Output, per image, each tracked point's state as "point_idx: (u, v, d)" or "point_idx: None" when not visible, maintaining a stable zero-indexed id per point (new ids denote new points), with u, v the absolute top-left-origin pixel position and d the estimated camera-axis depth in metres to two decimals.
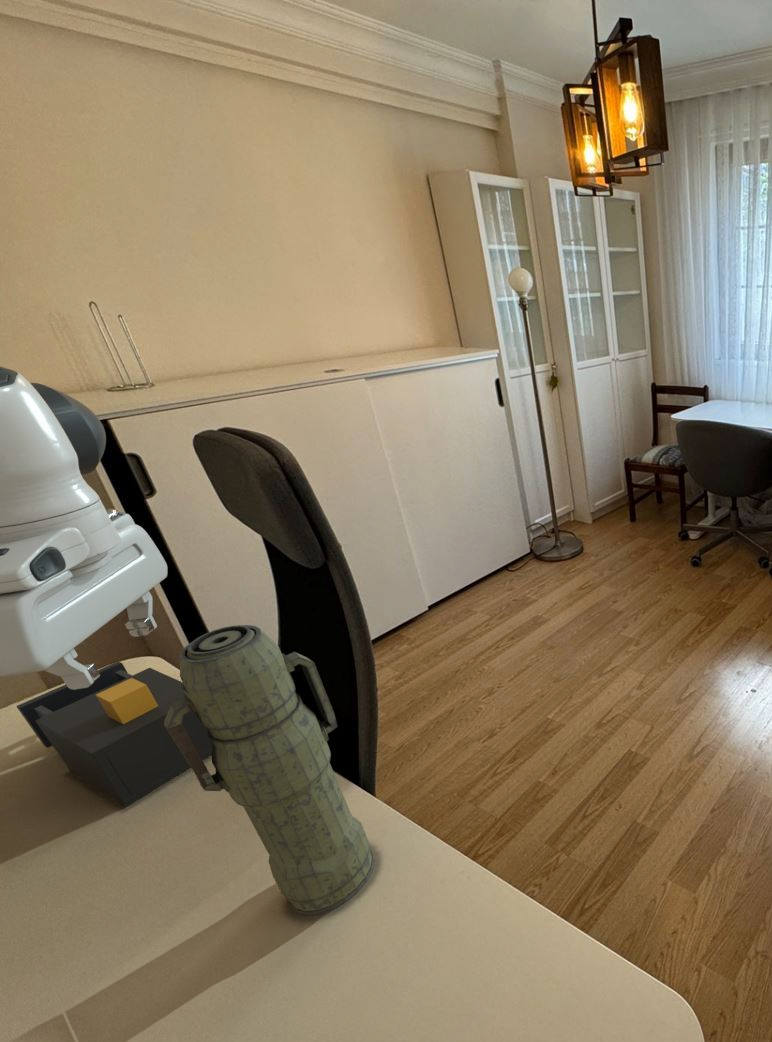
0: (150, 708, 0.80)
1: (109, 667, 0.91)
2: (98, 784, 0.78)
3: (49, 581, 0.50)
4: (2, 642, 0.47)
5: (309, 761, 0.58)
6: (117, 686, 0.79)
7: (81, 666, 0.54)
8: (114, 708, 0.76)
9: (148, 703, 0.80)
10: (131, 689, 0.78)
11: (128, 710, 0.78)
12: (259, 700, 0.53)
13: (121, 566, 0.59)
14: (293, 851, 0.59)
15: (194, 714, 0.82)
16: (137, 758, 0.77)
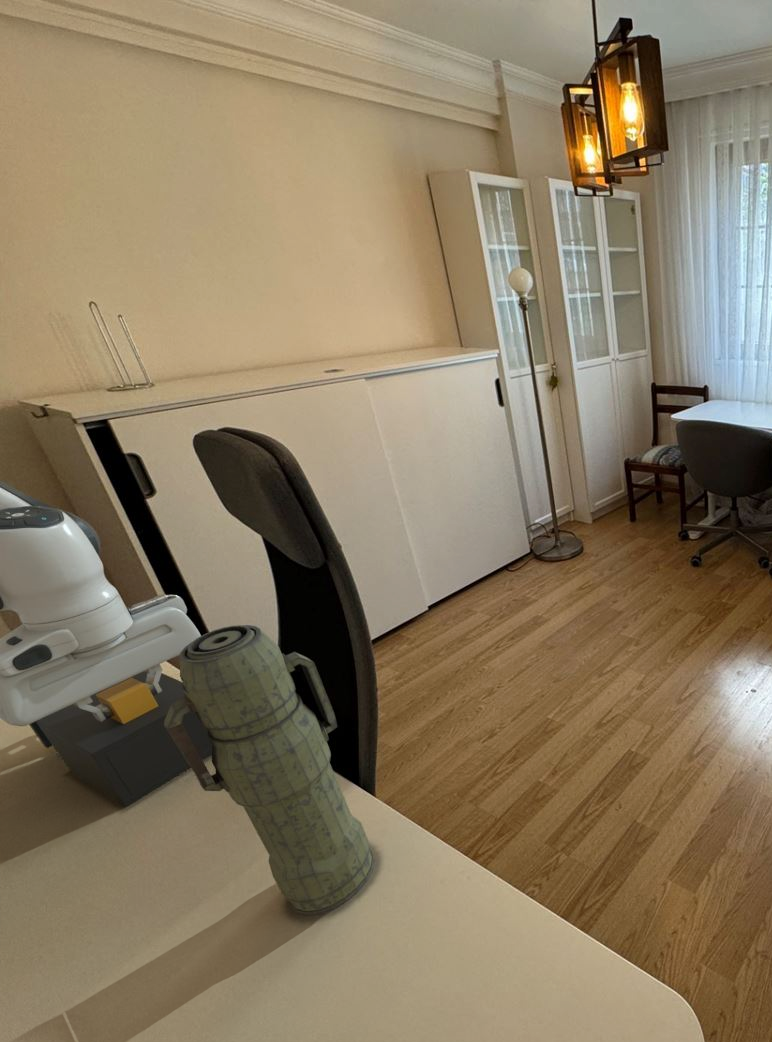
0: (150, 708, 0.80)
1: None
2: (98, 784, 0.78)
3: (37, 667, 0.69)
4: None
5: (309, 761, 0.58)
6: (117, 686, 0.79)
7: (94, 708, 0.75)
8: (114, 708, 0.76)
9: (149, 703, 0.80)
10: (131, 689, 0.78)
11: (128, 710, 0.78)
12: (259, 700, 0.53)
13: (143, 642, 0.78)
14: (293, 851, 0.59)
15: (194, 714, 0.82)
16: (137, 758, 0.77)
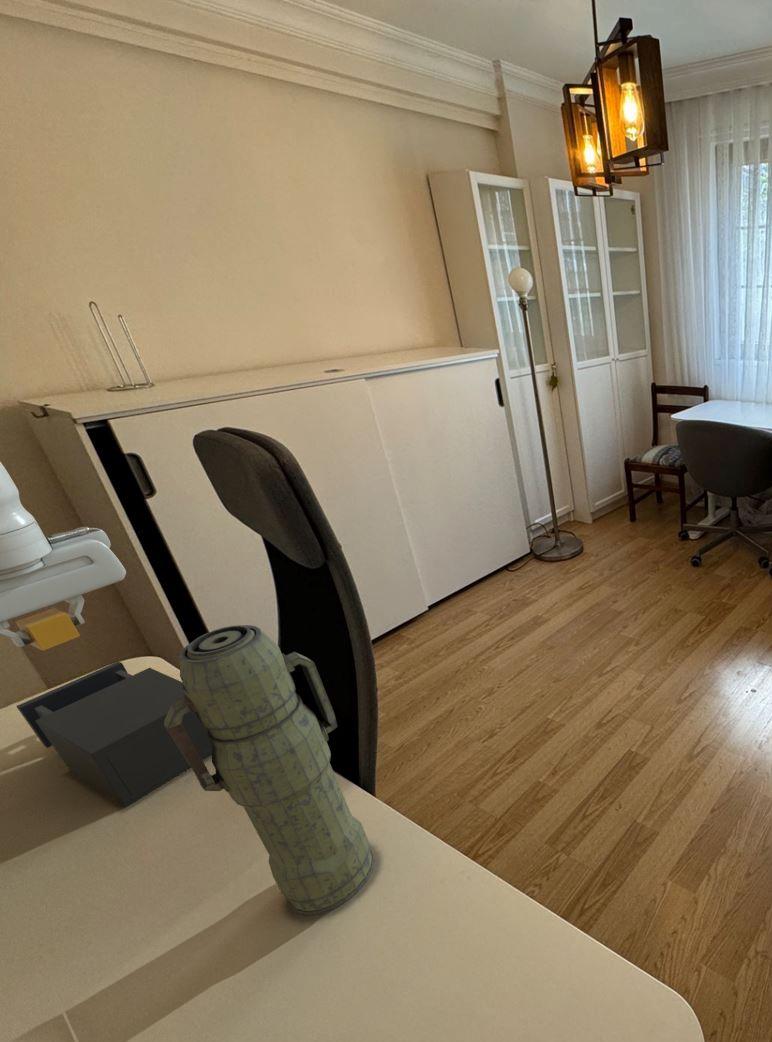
0: (71, 637, 0.82)
1: (109, 667, 0.91)
2: (98, 784, 0.78)
3: None
4: None
5: (309, 761, 0.58)
6: (38, 614, 0.81)
7: (12, 633, 0.77)
8: (33, 634, 0.78)
9: (70, 632, 0.81)
10: (51, 617, 0.80)
11: (48, 637, 0.80)
12: (259, 700, 0.53)
13: (63, 572, 0.80)
14: (293, 851, 0.59)
15: (194, 714, 0.82)
16: (137, 758, 0.77)
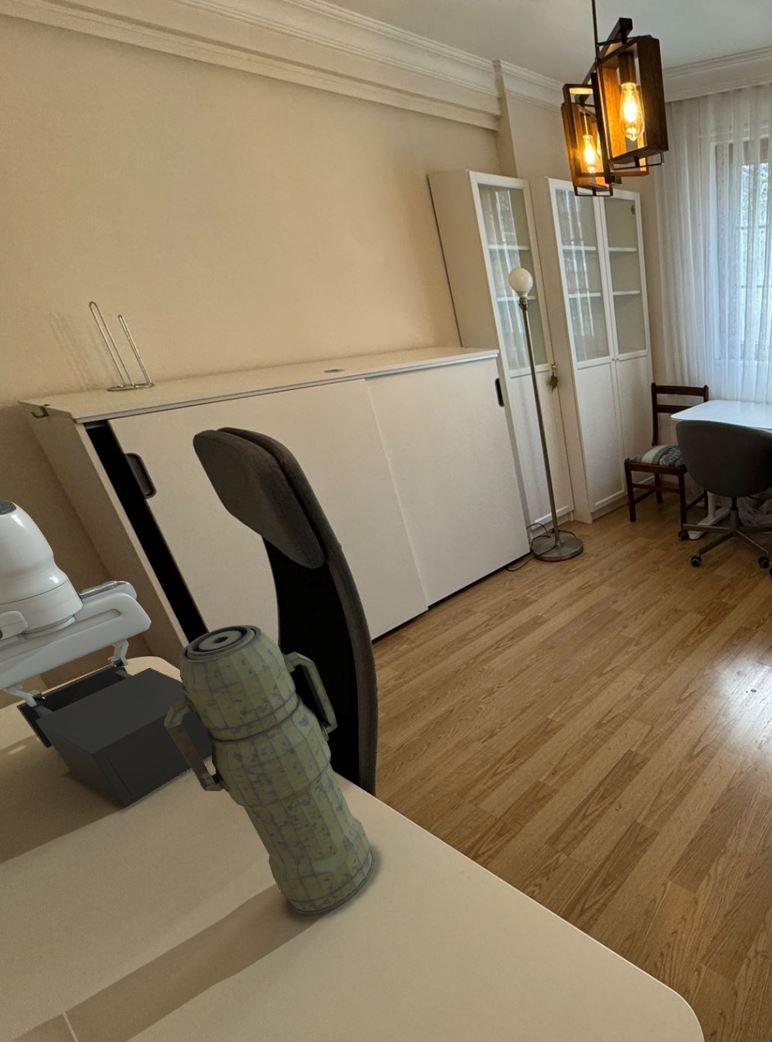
0: None
1: (109, 667, 0.91)
2: (98, 784, 0.78)
3: None
4: None
5: (309, 761, 0.58)
6: None
7: (25, 694, 0.79)
8: None
9: None
10: None
11: None
12: (259, 700, 0.53)
13: (92, 625, 0.84)
14: (293, 851, 0.59)
15: (194, 714, 0.82)
16: (137, 758, 0.77)
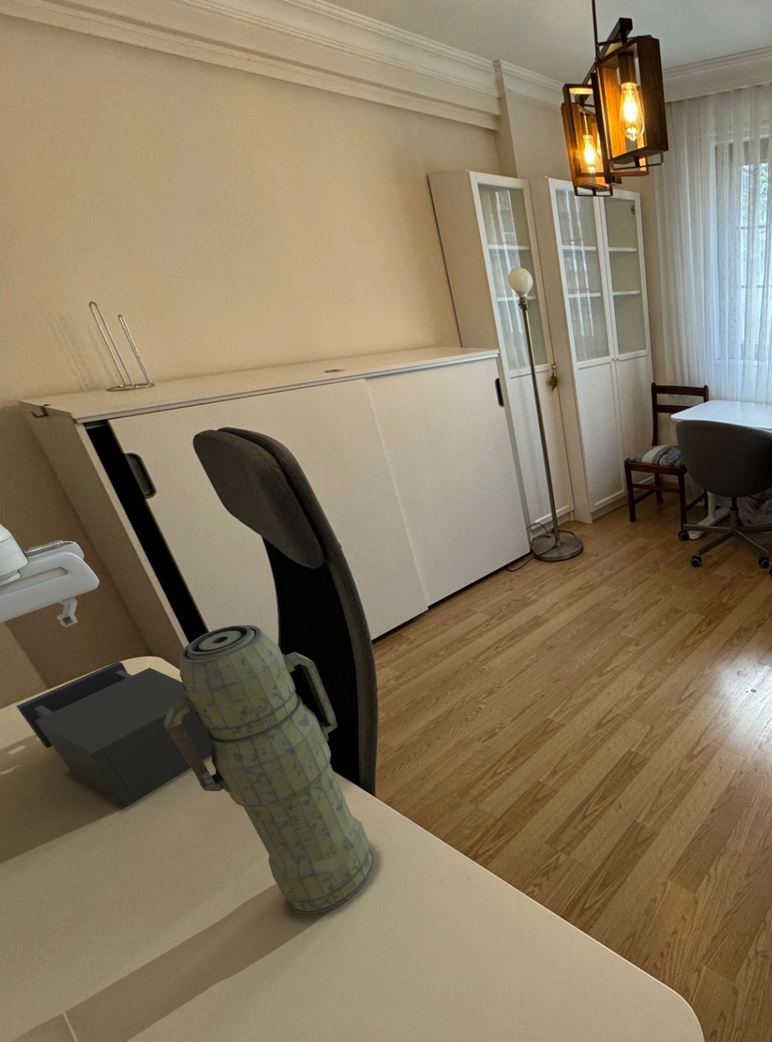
0: None
1: (109, 667, 0.91)
2: (98, 784, 0.78)
3: None
4: None
5: (309, 761, 0.58)
6: None
7: None
8: None
9: None
10: None
11: None
12: (259, 700, 0.53)
13: (39, 582, 0.87)
14: (293, 851, 0.59)
15: (194, 714, 0.82)
16: (137, 758, 0.77)
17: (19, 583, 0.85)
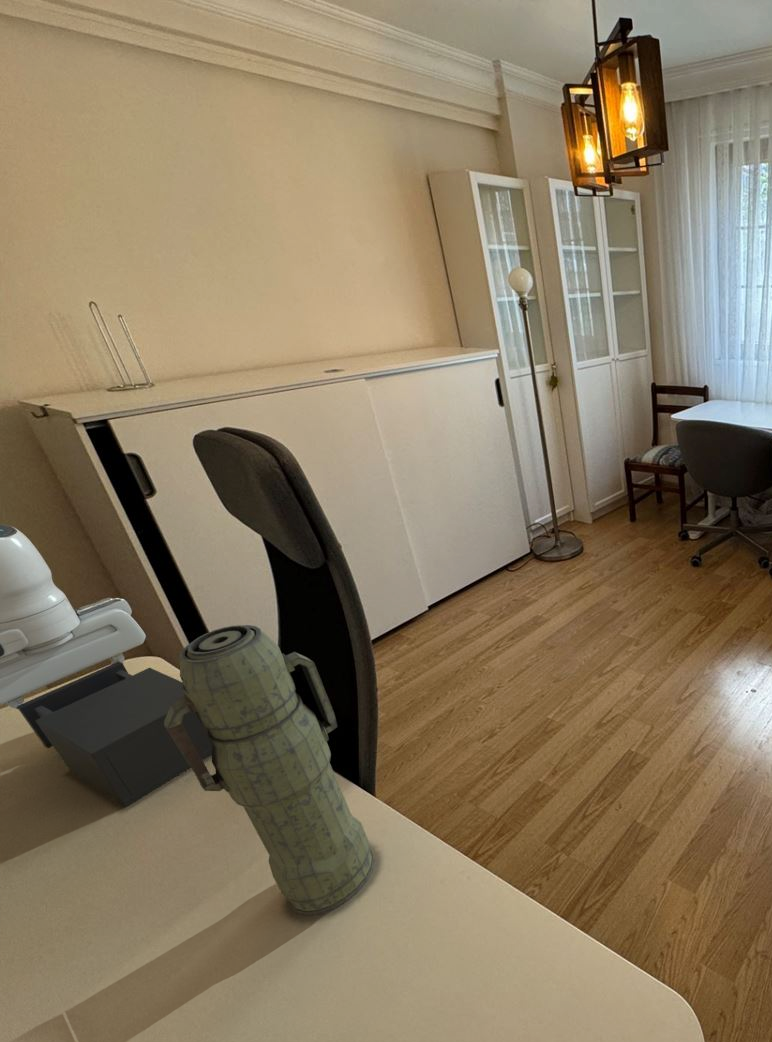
0: None
1: (109, 667, 0.91)
2: (98, 784, 0.78)
3: None
4: None
5: (309, 761, 0.58)
6: None
7: None
8: None
9: None
10: None
11: None
12: (259, 700, 0.53)
13: (90, 640, 0.89)
14: (293, 851, 0.59)
15: (194, 714, 0.82)
16: (137, 758, 0.77)
17: (71, 643, 0.87)
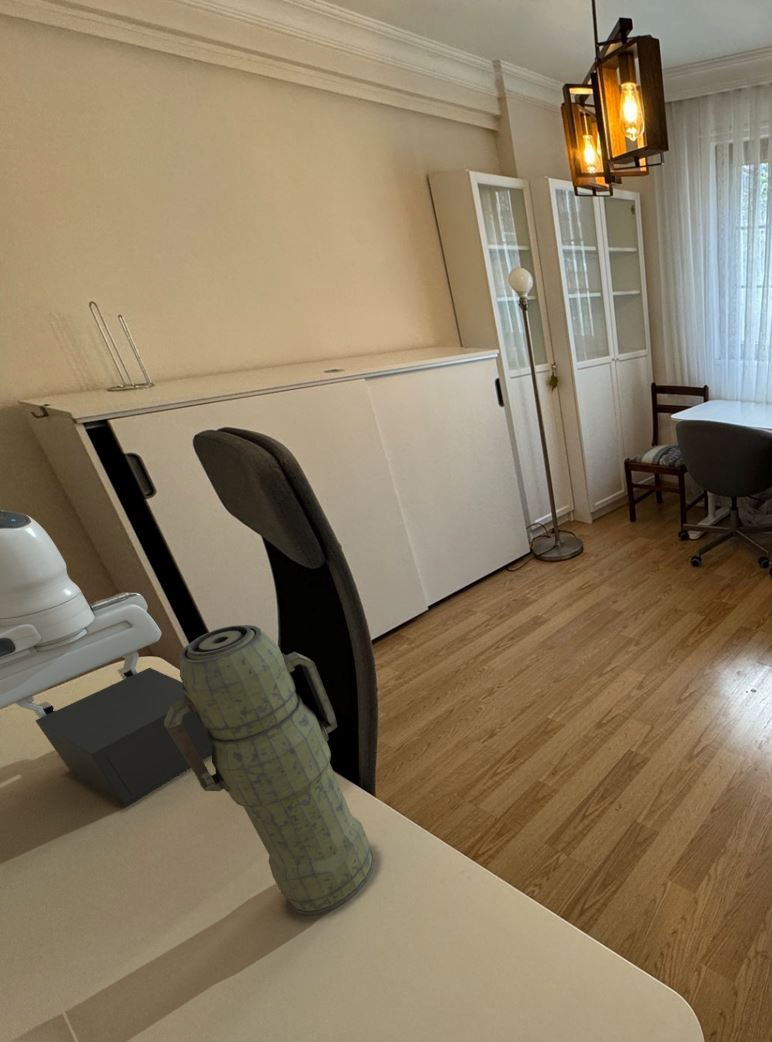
0: None
1: None
2: (98, 784, 0.78)
3: (1, 658, 0.74)
4: None
5: (309, 761, 0.58)
6: None
7: (36, 707, 0.79)
8: None
9: None
10: None
11: None
12: (259, 700, 0.53)
13: (104, 637, 0.84)
14: (293, 851, 0.59)
15: (194, 714, 0.82)
16: (137, 758, 0.77)
17: (85, 639, 0.82)
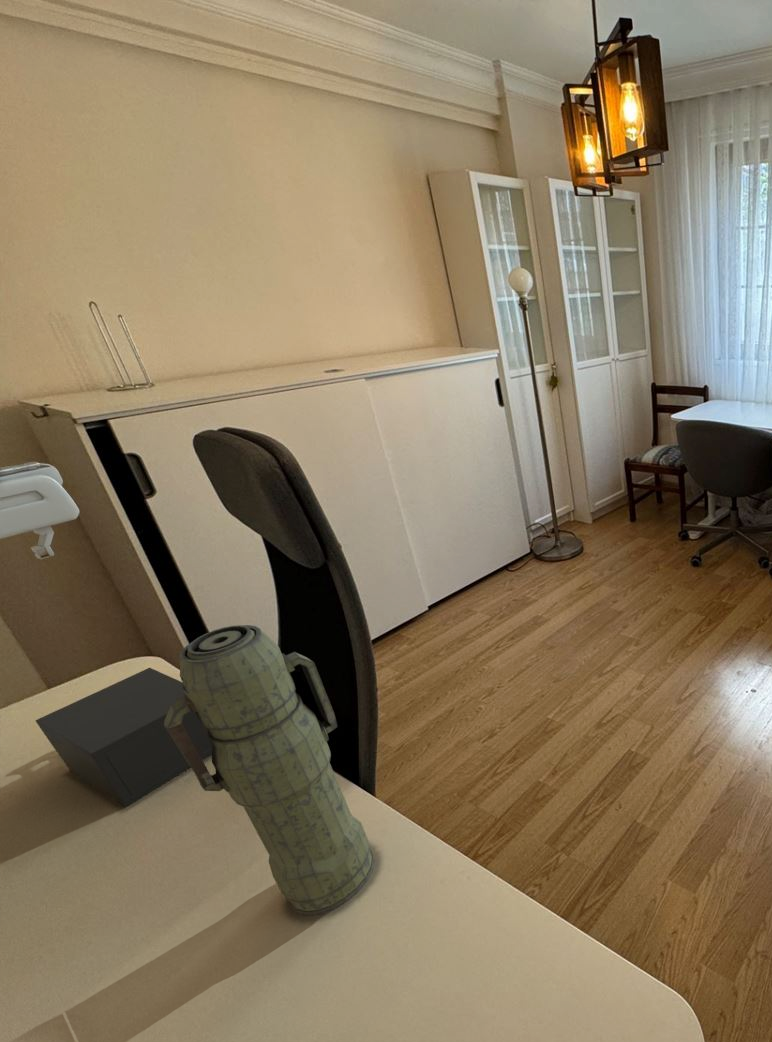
0: None
1: None
2: (98, 784, 0.78)
3: None
4: None
5: (309, 761, 0.58)
6: None
7: None
8: None
9: None
10: None
11: None
12: (259, 700, 0.53)
13: (11, 506, 0.78)
14: (293, 851, 0.59)
15: (194, 714, 0.82)
16: (137, 758, 0.77)
17: None
